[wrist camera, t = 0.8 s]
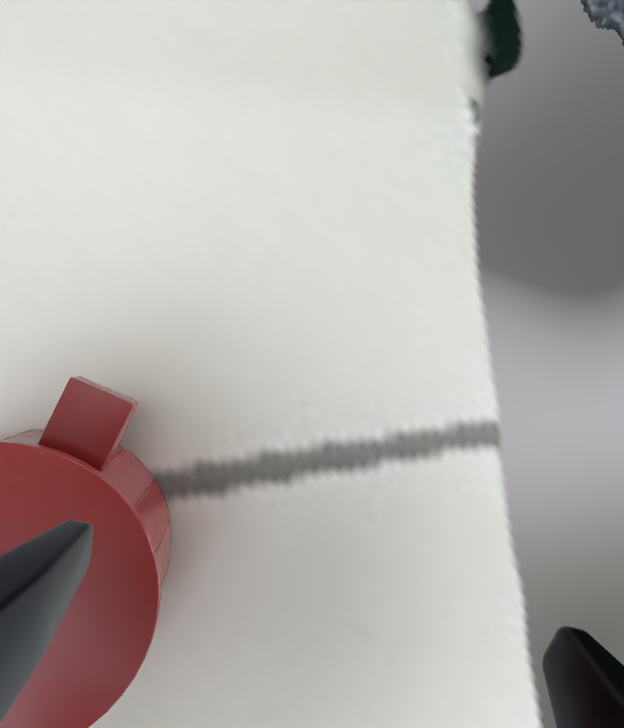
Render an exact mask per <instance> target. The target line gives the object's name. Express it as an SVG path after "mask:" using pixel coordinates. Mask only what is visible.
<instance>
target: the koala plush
mask: <svg viewBox="0 0 624 728" xmlns="http://www.w3.org/2000/svg"><path fill="white" fill-rule="evenodd" d="M581 3H582V4H583V5H584V12H587V13H588V16H589V18H590V20H591V22H593V21H595V24H596V27H597V28H600V27H601V28H602V29H603V28H605V27H606V29H607V30H609V29H615V31H616V32H617V33H618V35H619V36H620V37H621V38H622V40H623V43H622V44H623V46H624V0H581Z"/></svg>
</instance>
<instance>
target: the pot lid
mask: <svg viewBox="0 0 624 728" xmlns="http://www.w3.org/2000/svg"><path fill="white" fill-rule="evenodd" d="M69 519H75V520H80V521H85V522H89V523H91V524H92V526H93V537H92V548H91V558H90V563H89V566H88V568H87V571H86V573H85V575H84V577H83V579H82V581H81V583H80V585H79V587H78V589H77V591H76V593H75V595H74V597H73V599H72V601H71V603H70V604H69V606H68V608H67V610H66V612H65V614H64V616H63V618H62V620H61V622H60V624H59V626H58V628H57V630H56V632H55V634H54V636H53V638H52V640H51V642H50V644H49V646H48V647H47V649H46V651H45V653H44V655H43V657H42V658H41V660H40V662H39V663H38V665H37V667H36V668H35V670H34V671H33V673H32V675H31V676H30V678H29V679H28V681H27V682H26V684H25V685H24V687H23V689H22V690H21V692H20V693H19V695H18V696H17V698H16V700H15V701H14V703H13V704H12V706H11V707H10V709H9V711H8V712H7V714H6V715H5V717H4V718H3V720H2V722H1V723H0V728H89V727H90V726H91V725H92V724H93V723H95V722H96V721H97V720H98V719H99V718H100V717H101V716H103V715H104V714H105V713H106V712H107V711H108V710H109V709H110V708H111V707H112V706H113V705H114V703H115V702H116V701H117V700H118V699H119V698H120V697H121V696H122V694H123V693H124V692H125V690H126V689H127V687H128V686H129V685H130V683H131V682H132V680H133V679H134V677H135V676H136V674H137V672H138V670H139V668H140V666H141V665H142V663H143V661H144V659H145V656H146V654H147V651H148V649H149V646H150V644H151V641H152V638H153V635H154V631H155V627H156V623H157V619H158V615H159V606H160V596H161V589H160V571H159V565H158V559H157V554H156V551H155V548H154V545H153V542H152V538H151V536H150V534H149V532H148V530H147V527H146V525H145V523H144V521H143V519H142V517H141V516H140V514H139V513H138V511H137V510H136V508H135V507H134V505H133V504H132V502H131V501H130V500H129V499H128V498H127V497H126V495H125V494H124V493H123V492H122V491H121V490H120V489H119V488H118V487H117V486H116V485H115V484H114V483H113V482H112V481H110V480H109V479H108V478H107V477H106V476H105V475H104V474H102V473H101V472H99V471H98V470H96V469H95V468H93V467H92V466H90V465H89V464H87V463H86V462H84V461H82V460H79V459H77V458H75V457H73V456H71V455H69V454H67V453H65V452H62V451H59V450H56V449H53V448H50V447H47V446H42V445H37V444H33V443H28V442H21V441H8V440H0V555H1V554H3V553H5V552H7V551H9V550H11V549H13V548H15V547H17V546H18V545H20V544H22V543H24V542H26V541H28V540H30V539H32V538H34V537H36V536H37V535H39V534H41V533H43V532H45V531H47V530H49V529H51V528H53V527H55V526H57V525H58V524H60V523H62V522H64V521H66V520H69Z"/></svg>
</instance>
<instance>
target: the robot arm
mask: <svg viewBox="0 0 624 728" xmlns="http://www.w3.org/2000/svg"><path fill="white" fill-rule="evenodd" d="M92 537H93V526H92V524H91V523H89V522H85V521H80V520H75V519H69V520H66V521H64V522H62V523H60V524H58V525H57V526H55V527H53V528H51V529H49V530H47V531H45V532H43V533H41V534H39V535H37V536H36V537H34V538H32V539H30V540H28V541H26V542H24V543H22V544H20V545H18V546H17V547H15V548H13V549H11V550H9V551H7V552H5V553H3V554H1V555H0V723H1V722H2V720H3V718H4V717H5V715H6V714H7V712H8V711H9V709H10V707H11V706H12V704H13V703H14V701H15V700H16V698H17V696H18V695H19V693H20V692H21V690H22V689H23V687H24V685H25V684H26V682H27V681H28V679H29V678H30V676H31V675H32V673H33V671H34V670H35V668H36V667H37V665H38V663H39V662H40V660H41V658H42V657H43V655H44V653H45V651H46V649H47V647H48V646H49V644H50V642H51V640H52V638H53V636H54V634H55V632H56V630H57V628H58V626H59V624H60V622H61V620H62V618H63V616H64V614H65V612H66V610H67V608H68V606H69V604H70V603H71V601H72V599H73V597H74V595H75V593H76V591H77V589H78V587H79V585H80V583H81V581H82V579H83V577H84V575H85V573H86V571H87V568H88V566H89V563H90V558H91V548H92ZM543 672H544V676H545V680H546V684H547V688H548V693H549V697H550V701H551V706H552V709H553V713H554V718H555V722H556V727H557V728H624V666H623V665H622V664H621V663H620V662H619V661H618V660H617V659H616V658H615V657H613V656H612V655H611V654H610V653H609V652H608V651H607V650H606V649H605V648H604V647H602V646H601V645H600V644H599V643H598V642H597V641H596V640H595V639H594V638H593V637H592V636H590V635H589V634H588V633H587V632H586V631H584V630H582V629H578V628H573V627H569V626H562V627H560V628H558V630H557V632H556V633H555V635H554V637H553V639H552V641H551V642H550V644H549V646H548V648H547V650H546V652H545V654H544V656H543Z"/></svg>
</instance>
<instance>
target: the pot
mask: <svg viewBox="0 0 624 728" xmlns="http://www.w3.org/2000/svg"><path fill="white" fill-rule="evenodd" d="M137 405H138V401H136V400H134V399H131V398H129V397H127V396H124V395H122V394H120V393H117V392H115V391H113V390H110V389H108V388H106V387H103V386H101V385H99V384H97V383H94V382H92V381H90V380H87V379H85V378H83V377H71V378H70V379H69V381H68V383H67V385H66V387H65V389H64V391H63V393H62V395H61V397H60V399H59V401H58V404H57V406H56V408H55V410H54V412H53V414H52V416H51V418H50V420H49V422H48V424H47V426H46V428H45V430H30V431H28V432H25V433H22V434H19V435H16V436H13V437H10V438H7V439H4V440H8V441H21V442H28V443H33V444H37V445H42V446H47V447H50V448H53V449H56V450H59V451H62V452H65V453H67V454H69V455H71V456H73V457H75V458H77V459H79V460H82V461H84V462H86V463H87V464H89V465H90V466H92V467H93V468H95V469H96V470H98V471H99V472H101V473H102V474H104V475H105V476H106V477H107V478H108V479H109V480H110V481H112V482H113V483H114V484H115V485H116V486H117V487H118V488H119V489H120V490H121V491H122V492H123V493H124V494H125V495H126V497H127V498H128V499H129V500H130V501H131V502H132V504H133V505H134V507H135V508H136V510H137V511H138V513H139V514H140V516H141V517H142V519H143V521H144V523H145V525H146V527H147V530H148V532H149V534H150V536H151V538H152V542H153V545H154V548H155V551H156V554H157V559H158V565H159V571H160V587H161V584H162V581H163V579H164V576H165V573H166V570H167V567H168V564H169V556H170V544H171V520H170V516H169V511H168V508H167V504H166V501H165V498H164V496H163V494H162V491H161V489H160V487H159V485H158V483H157V482H156V480H155V479H154V477H153V476H152V474H151V473H150V472H149V470H148V469H147V468H146V467H145V466H144V465H143V464H142V462H141V461H139V460H138V459H137V458H136V457H135V456H134V455H133V454H131V453H130V452H129V451H127V450H126V449H124V448H123V447H121V446H120V445H119V443H120V440H121V438H122V436H123V434H124V432H125V430H126V428H127V426H128V424H129V422H130V420H131V418H132V415H133V413H134V411H135V409H136V407H137Z"/></svg>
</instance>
